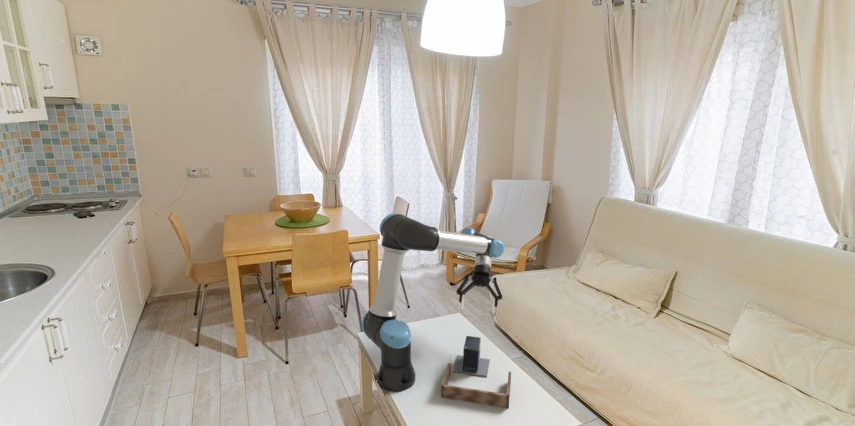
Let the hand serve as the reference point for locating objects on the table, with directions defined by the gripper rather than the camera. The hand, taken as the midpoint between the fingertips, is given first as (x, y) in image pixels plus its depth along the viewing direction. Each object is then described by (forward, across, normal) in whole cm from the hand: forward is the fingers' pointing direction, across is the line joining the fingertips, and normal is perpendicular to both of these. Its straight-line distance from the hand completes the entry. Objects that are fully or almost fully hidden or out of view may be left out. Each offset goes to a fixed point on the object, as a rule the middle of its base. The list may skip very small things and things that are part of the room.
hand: (476, 311), depth 187 cm
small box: (+21, 0, -6) cm, 22 cm away
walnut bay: (+32, -4, +3) cm, 32 cm away
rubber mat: (+22, 0, -6) cm, 22 cm away
